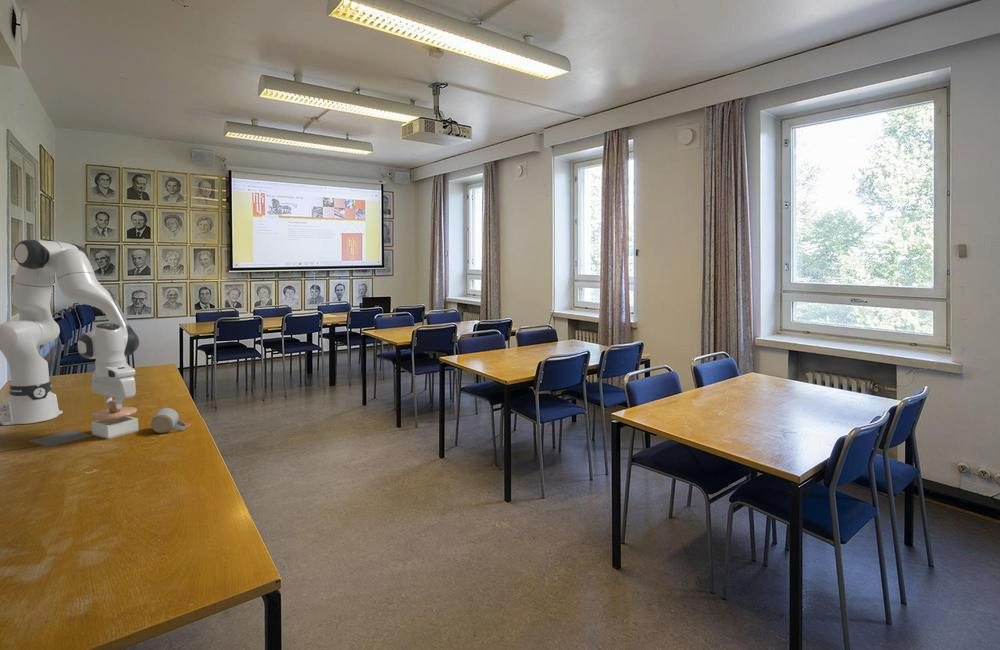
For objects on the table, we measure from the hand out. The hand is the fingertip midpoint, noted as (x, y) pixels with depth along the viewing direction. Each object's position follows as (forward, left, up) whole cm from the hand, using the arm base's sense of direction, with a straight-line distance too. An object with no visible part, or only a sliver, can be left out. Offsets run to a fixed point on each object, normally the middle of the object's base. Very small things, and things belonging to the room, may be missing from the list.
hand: (114, 407), depth 189 cm
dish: (0, 0, -10) cm, 10 cm away
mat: (-10, -12, -10) cm, 18 cm away
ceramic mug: (+12, +11, -10) cm, 19 cm away
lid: (0, 0, -2) cm, 2 cm away
